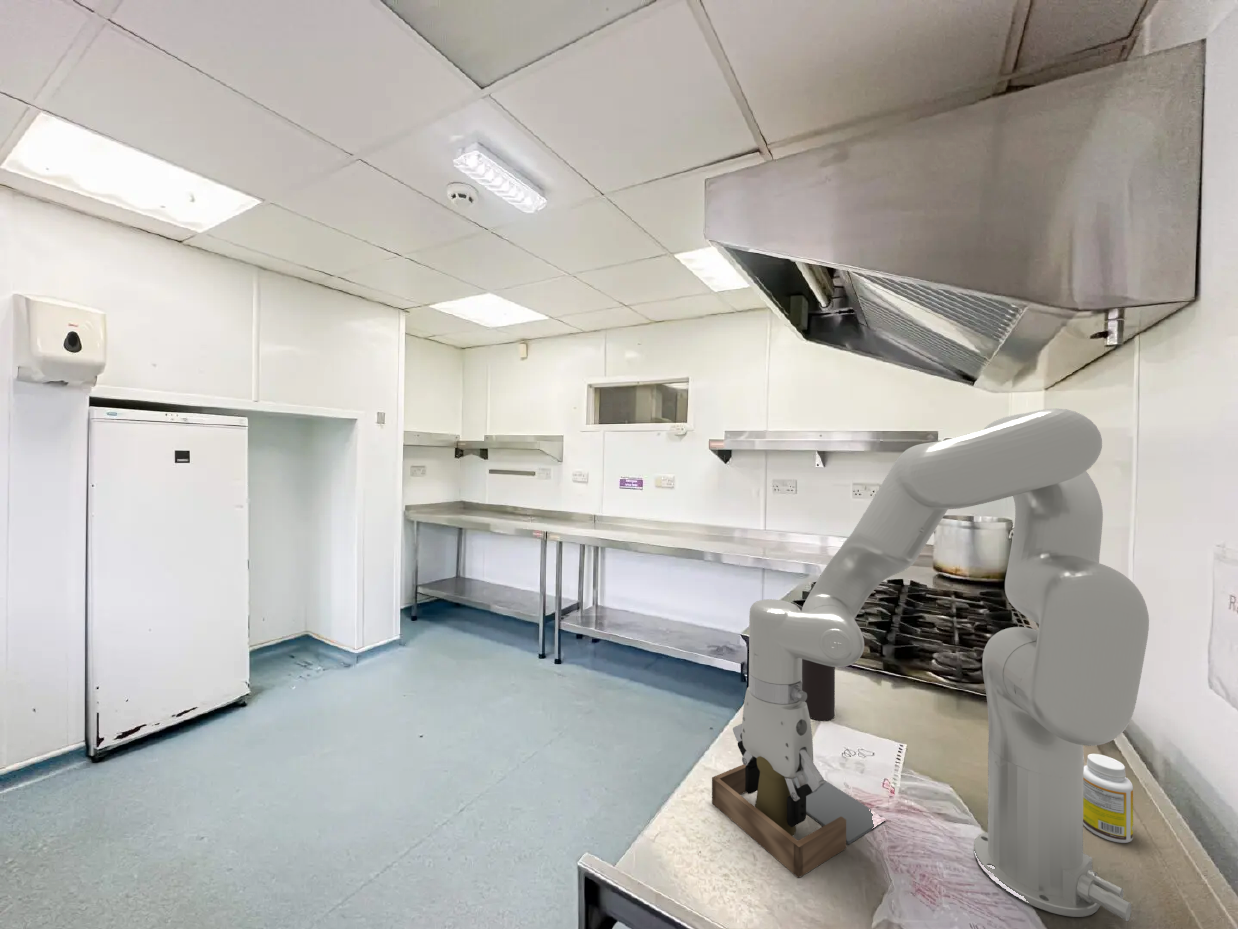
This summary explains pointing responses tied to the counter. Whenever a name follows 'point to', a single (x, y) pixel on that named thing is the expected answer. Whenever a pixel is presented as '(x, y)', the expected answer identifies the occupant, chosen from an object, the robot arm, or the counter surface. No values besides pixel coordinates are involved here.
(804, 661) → the vinegar
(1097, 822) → the supplement bottle
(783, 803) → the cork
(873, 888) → the counter surface
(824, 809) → the charcoal mat
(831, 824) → the wooden u-shaped frame
